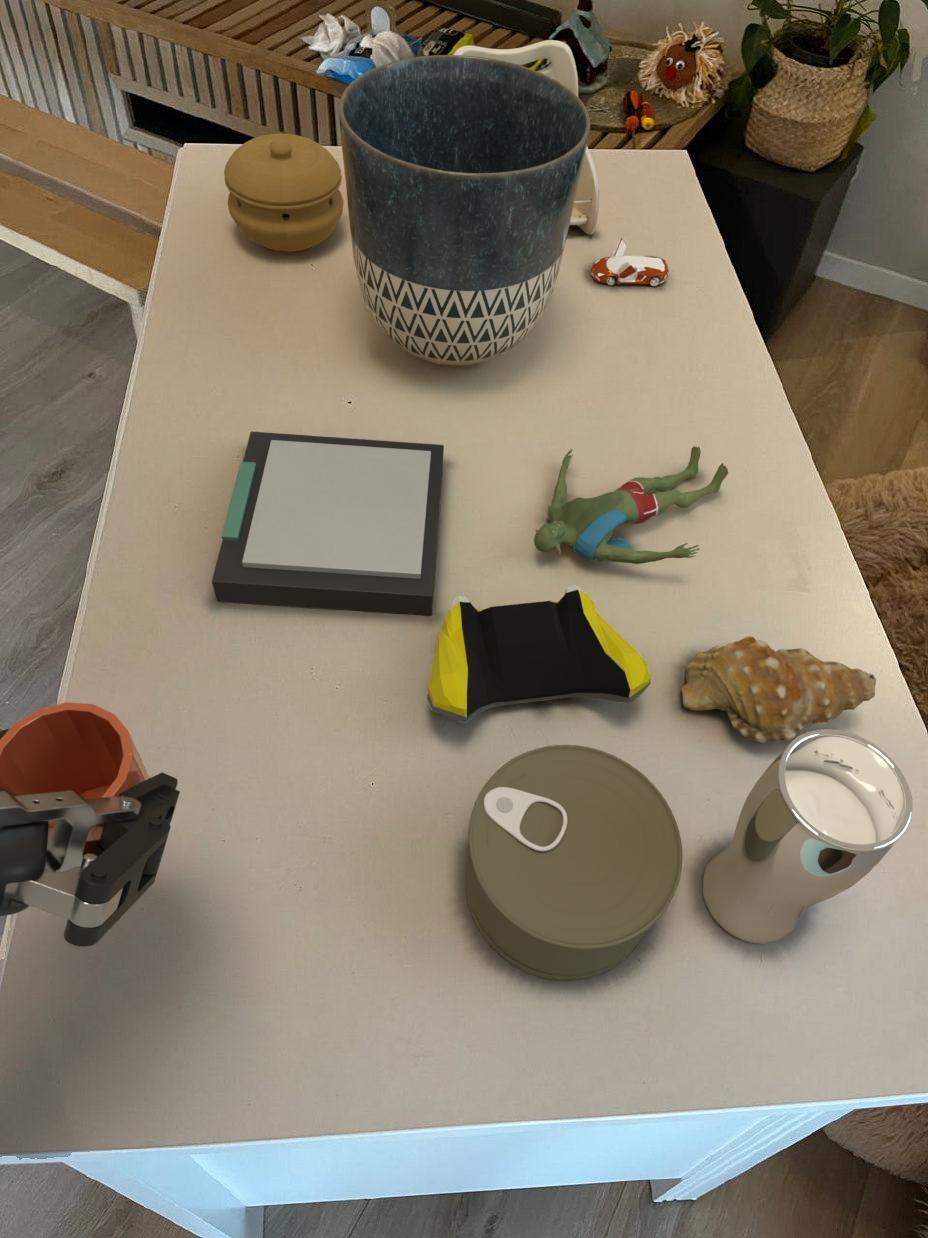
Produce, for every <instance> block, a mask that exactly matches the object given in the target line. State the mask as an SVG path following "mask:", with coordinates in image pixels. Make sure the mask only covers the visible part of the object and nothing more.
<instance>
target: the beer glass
mask: <svg viewBox="0 0 928 1238" xmlns="http://www.w3.org/2000/svg"><path fill="white" fill-rule="evenodd" d="M908 783H909V782H908V781H907V779H906V777H905V775H904V774H903V772H902V770H901V769H900V767H899V766H898V764H897V763H896V762H895V761H894V760H893V759H892V758H891V757H890V756H889V755H888V753H886V752H885V751H884V750H883V749H881V748H880V747H879V746H878V745H876V744H874V743H873V742H871V741H869V740H868V739H866V738H864V737H862V736H859V735H858V734H854V733H851V732H848V731H845V730H841V729H831V728H826V729H825V728H823V729H822V728H821V729H816V730H811V731H808V732H805V733H802V734H801V735H798V736H797V737H795V738H793V739H792V741H791V742H789V743H788V745H787V746H786V747H785V749H784V750H783V751H782V752H781V753H780V754H779V755H778V757H776V758H775V759H774V761H772V763H771V764H770V765H769V766H768V767H766V770H764V772H763V773H762V774H761V776H759V778H758V779H757V780H756V782H755V783H754V785H753V787H752V789H750V791H749V794H748V795H747V796H746V799H745V801H744V802H743V803H744V804H743V805H742V808H741V810H740V813H739V816H738V820H737V822H736V826H735V830H734V833H733V837H732V840H731V843H730V845H729V846H727V847H725V848H724V849H722V850H721V851H719V852H718V853H717V854H715V855H714V856H713V857H712V858H711V859H710V861H709V862H708V864H707V865H706V867H705V869H704V873H703V875H702V883H701V884H702V885H701V886H702V888H701V889H702V896H703V899H704V903H705V905H706V907H707V910H708V912H709V913H710V915H711V917H712V918H713V920H714V921H715V922H716V923H717V925H719V926H720V927H721V928H722V929H723V930H724V931H725V932H727V933H728V934H729V935H731V936H733V937H735V938H737V939H739V940H741V941H744V942H747V943H750V944H762V945H763V944H770V943H774V942H778V941H780V940H782V939H783V938H785V937H786V936H788V935H789V934H790V933H791V932H793V930H794V929H795V927H796V926H797V924H798V923H799V920H800V919H801V916H802V914H803V912H804V910H805V909H806V908H809V907H811V906H813V905H816V904H819V903H821V902H824V901H827V900H828V899H831V898H833V897H835V896H837V895H839V894H841V893H843V892H844V891H846V890H848V889H850V888H852V887H853V886H855V885H856V884H857V883H858V882H859V881H861V880H862V879H863V878H865V876H867V875H868V874H869V873H870V872H871V871H872V870H873V869H874V868H875V867H876V866H877V865H878V864H880V862H881V861H882V860H883V858H884V857H885V856H886V854H887V853H889V851H890V850H891V848H893V846H894V845H895V844H896V842H897V841H898V840H899V839H901V838H902V837H903V835H904V834H905V833H906V831H907V830H908V827H909V825H910V823H911V821H912V815H913V807H914V806H913V797H912V792H911V790H910V786H909V784H908Z"/></svg>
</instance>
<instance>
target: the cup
mask: <svg viewBox="0 0 928 1238" xmlns="http://www.w3.org/2000/svg"><path fill="white" fill-rule="evenodd" d="M9 728H10V729H9ZM9 728H8V729H9V730H8V731H7V733H6V734H5V735H4V736H3V737H2V738H1V739H0V787H1V788H2V789H4V790H6V791H8V792H12V793H15V794H19V795H29V794H39V793H49V792H58V791H68V790H74V791H76V792H78V793H79V794H80V795H81V796H82V797H83V798H84V799H85V800H88V799H97V798H106V797H115V796H119V794H120V793H121V792H124V791H126V790H128V789H130V788H131V787H133V786H135V785H137V784H139V783H141V782H143V781H145V780H147V779H149V778H151V776H150V775H149V773H148V771H147V769H146V767H145V764H144V762H143V760H142V758H141V755H140V753H139V751H138V748H137V747H136V744H135V743H134V740H133V738H132V736H131V734H130V732H129V730H128V729H127V728H126V726H125V725H124V723H122V721H121V720H120V719H119V717H118V716H117V715H116V714H115V713H112V712H111V711H109V710H106V709H104V708H102V707H100V706H99V705H95V704H93V703H82V702H69V701H67V702H62V703H59V704H55V705H51V706H46V707H42V708H40V709H37V710H36V711H33V712H32V713H30V714H29V715H27V716H25V717H23V718H22V719H20V720H18V721H17V722H15V723H14V724H13V725H11V727H9ZM55 821H56V820H50V821H48V823H49V831H48V843H47V849H48V847H49V844H50V840H51V836H52V833H53V829H54V825H55ZM103 827H104V824H97V825H95V826H93V827H92V828H91V829H90V830H89V832H88V836H87V839H86V841H93V840H99V839H100V837H101V834H102V830H103Z"/></svg>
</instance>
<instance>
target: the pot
mask: <svg viewBox="0 0 928 1238" xmlns="http://www.w3.org/2000/svg"><path fill="white" fill-rule="evenodd" d="M223 175H224V183H225V187H226V188H227V190H228V192H229V194H228V197H227V207H228V212H229V215H230V217H231V218H232V220H233V221H234V223H235V224H236V226H237V227H238V228H239V231H241V232H242V234H244V236H246V237H247V238H248V239H250V241H252V242H253V243H255V244H257V245H259V246H261V247H263V248H266V249H269V250H272V251H277V252H299V251H304V250H308V249H310V248H313V247H315V246H317V245H319V244H321V243H322V242H324V241H325V240H326V239H327V238H328V237H329V236H330V235H331V234H332V233H333V232H334V230H335V228H336V227H337V225H338V223H339V220H340V219H341V217H342V215H343V212H344V197H343V195H342V192H341V190H339V189H340V187H341V186H342V179H343V176H342V170H341V167H340V164H339V162H338V161H337V160H336V158H335V157H334V156H333V155H332V154H331V152H330V151H329V150H327V148H325V147H324V146H323V145H321V144H320V143H318V142H317V141H315V140H313V139H311V138H309V137H306V136H301V135H298V134H293V133H269V134H265V135H263V134H262V135H259V136H257V137H254V138H251V139H250V140H247V141H245V142H244V143H242V144H241V145H240V146H238V148H236V149H235V150H234V151H233V152H232V154H231V156H230V157H229V158H228V160H227V162H226V164H225V167H224V171H223Z"/></svg>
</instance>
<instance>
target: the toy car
mask: <svg viewBox="0 0 928 1238" xmlns="http://www.w3.org/2000/svg"><path fill="white" fill-rule="evenodd" d="M626 249H627V243H626V242H625V241H624V239H623V238H622V237H620V238H618V240H617V243H616V245H615V248H614V250H613V253H612V252H611V253H610V256H605V257H602V258H600V259H598V260H596V261H595V262H594V263H592V265H591V273H590V275H591V276H592V277H593V280H595V282H598V283H601V284H606V285H607V286H609V287H613V286H615V285H649V286H650V287H653V288H654V287H658V286H659V285H660V284H663V283H664V282H665V281H666V280H667V279H668V277H669V275H668V273H669V267H668V266H669V265H668V264H667V261H666V260H665V259H663V258H662V257H659V256H654V255H624V254H625V252H626Z"/></svg>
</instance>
